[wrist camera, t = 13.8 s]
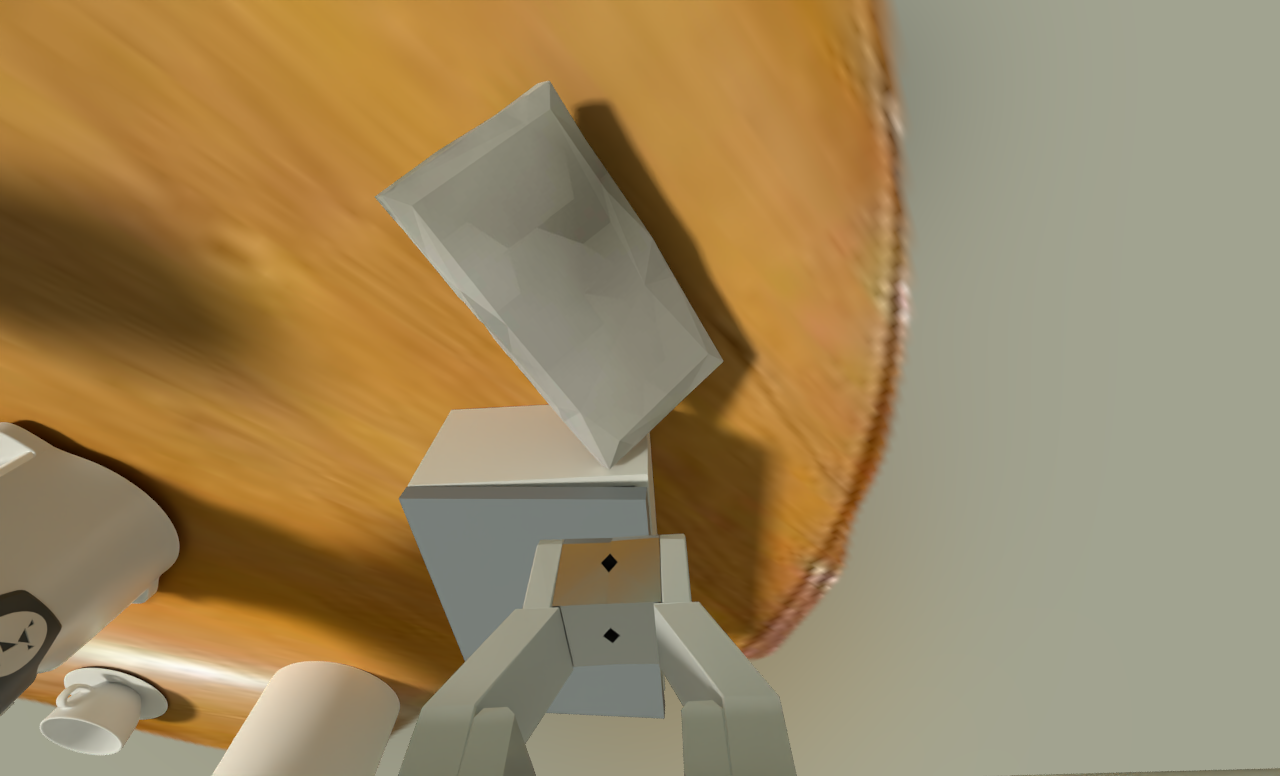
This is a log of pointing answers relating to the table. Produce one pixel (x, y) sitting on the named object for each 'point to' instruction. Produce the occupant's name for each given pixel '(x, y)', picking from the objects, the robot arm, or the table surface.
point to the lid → (527, 571)
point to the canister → (315, 724)
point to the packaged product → (558, 271)
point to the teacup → (100, 710)
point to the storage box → (525, 455)
